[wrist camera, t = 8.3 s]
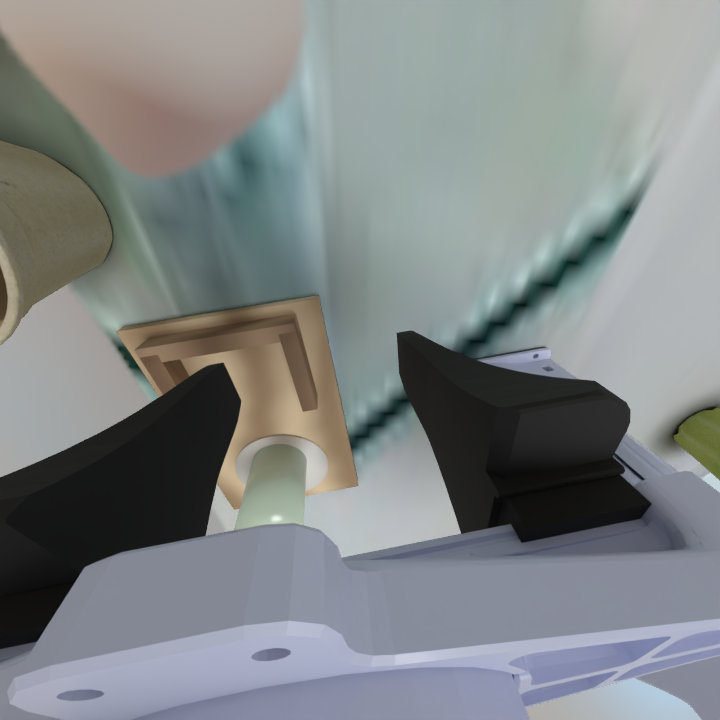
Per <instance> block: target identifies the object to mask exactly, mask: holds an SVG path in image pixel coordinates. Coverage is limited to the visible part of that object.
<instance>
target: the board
mask: <svg viewBox="0 0 720 720" xmlns="http://www.w3.org/2000/svg"><path fill="white" fill-rule="evenodd" d="M116 332H117V334H118V335H119V337H120V338H121V340H122V341H123V343H124V344H125V346H126V347H127V349H128V350H129V352H130V353H131V355H132V356H133V358H134V359H135V361H136V362H137V364H138V365H139V367H140V368H141V370H142V371H143V373H144V374H145V376H146V377H147V379H148V380H149V382H150V383H151V385H152V387H153V388H154V390H155V391H156V393H157V394H158V396H159V397H160V396H162V395H163V394H165V393H166V392H168V391H169V390H171V389H172V388H174V387H175V386H176V385H178V384H179V383H181V382H182V381H184V380H185V379H187V378H188V377H190V376H191V375H193V374H194V373H196V372H197V371H199V370H200V369H202V368H204V367H206V366H208V365H212V364H217V363H223V362H224V364H225V366H226V369H227V371H228V373H229V375H230V377H231V379H232V382H233V384H234V386H235V388H236V390H237V392H238V394H239V397H240V399H241V407H240V413H239V418H238V423H237V426H236V429H235V431H234V434H233V437H232V440H231V443H230V446H229V448H228V451H227V454H226V457H225V459H224V462H223V465H222V468H221V471H220V474H219V477H218V480H217V484H218V486H219V487H220V489H221V490H222V492H223V493H224V495H225V497H226V498H227V500H228V501H229V503H230V504H231V506H232V507H233V509H234V510H235V509H240V506H241V502H242V498H243V494H244V490H245V487H246V483H247V479H248V475H249V471H250V467H251V464H252V460H253V457H254V455H255V454H256V453H257V451H259V450H260V449H262V448H264V447H266V446H269V445H274V444H285V445H290V446H293V447H296V448H298V449H299V450H301V451H302V452H303V453H304V455H305V456H306V459H307V470H306V489H305V496H308V495H313V494H318V493H324V492H329V491H334V490H339V489H345V488H350V487H355V486H358V479H357V474H356V469H355V465H354V460H353V455H352V450H351V446H350V441H349V436H348V432H347V427H346V422H345V418H344V413H343V408H342V403H341V399H340V394H339V389H338V385H337V380H336V375H335V370H334V366H333V361H332V356H331V352H330V347H329V342H328V337H327V333H326V328H325V323H324V319H323V314H322V309H321V304H320V300H319V295H316V296H310V297H304V298H298V299H292V300H286V301H280V302H274V303H267V304H261V305H255V306H249V307H243V308H237V309H231V310H224V311H218V312H212V313H206V314H200V315H194V316H188V317H181V318H175V319H169V320H163V321H157V322H151V323H145V324H138V325H132V326H126V327H123V328H121V329H119V330H118V331H116Z"/></svg>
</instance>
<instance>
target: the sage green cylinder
mask: <svg viewBox="0 0 720 720" xmlns="http://www.w3.org/2000/svg"><path fill="white" fill-rule="evenodd" d="M306 470H307V459H306V456H305V455H304V453H303V452H302V451H301V450H299V449H298V448H296V447H293V446H290V445H285V444H274V445H269V446H266V447H264V448H262V449H260V450H259V451H257V453H256V454H255V455H254V457H253V460H252V464H251V467H250V471H249V475H248V479H247V483H246V487H245V490H244V494H243V498H242V502H241V506H240V510H239V513H238V517H237V521H236V525H235V529H234V530H239V529H244V528H249V527H254V526H259V525H266V524H286V523H296V524H300V525H304V508H305V489H306Z"/></svg>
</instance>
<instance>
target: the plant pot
mask: <svg viewBox="0 0 720 720" xmlns="http://www.w3.org/2000/svg"><path fill="white" fill-rule="evenodd" d="M674 440H675V442H676V443H678V444H679V445H680V446H681V447H682V448H683V449H685V450H686V451H687V452H688V453H689V454H690V455H692V456H693V457H694V458H695V459H696V460H697V461H698V462H700V463H701V464H702V465H703V466H704V467H705V468H706V469H708V470H709V471H710V472H711V473H712V474H713V475H714V476H716V477H717V478H718V479H719V480H720V407H716V408H715V409H714V410H704V411H701V412H699V413H696V414H695V415H693V416H692V417H690V418H689V419H687V420H686V421H684V422H683V423H682V424H681V425H680V426H679V432H678V434H676V435H674Z"/></svg>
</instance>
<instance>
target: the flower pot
mask: <svg viewBox="0 0 720 720" xmlns="http://www.w3.org/2000/svg"><path fill="white" fill-rule="evenodd" d="M112 239H113V237H112V230H111V225H110V222H109V219H108V216H107V214H106V211H105V209H104V207H103V206H102V204H101V202H100V201H99V200H98V198H97V197H96V195H95V194H94V193H93V191H92V190H91V189H90V188H89V187H88V186H87V184H86V183H85V182H84V181H83V180H82V179H80V178H79V177H78V176H76V175H75V174H74V173H72V172H71V171H69V170H68V169H66V168H65V167H63V166H62V165H61V164H59V163H58V162H56V161H55V160H53V159H51V158H49V157H48V156H46V155H44V154H42V153H39V152H37V151H34V150H31V149H28V148H24V147H20V146H17V145H13V144H10V143H7V142H4V141H0V345H1V344H3V343H4V342H5V341H6V340H7V339H8V338H9V337H10V336H11V335H12V334H13V332H14V331H15V329H16V328H17V326H18V325H19V323H20V320H21V319H22V317H24V316H25V315H26V314H27V313H28V311H29V310H30V308H31V307H32V305H34V304H35V303H37V302H39V301H40V300H42V299H43V298H45V297H47V296H48V295H50V294H52V293H53V292H55V291H57V290H58V289H60V288H61V287H63V286H65V285H66V284H68V283H70V282H71V281H73V280H75V279H76V278H78V277H80V276H81V275H83V274H85V273H86V272H88V271H90V270H91V269H93V268H95V267H97V266H99V265H100V264H101V263H103V262H104V260H105V258H106V256H107V254H108V251H109V249H110V246H111V243H112Z"/></svg>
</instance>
